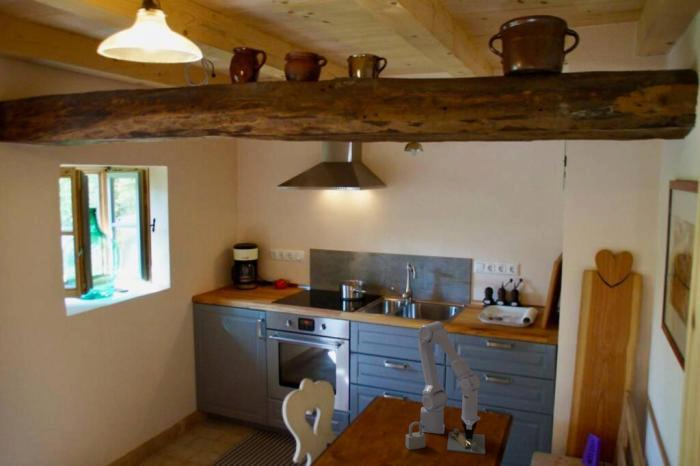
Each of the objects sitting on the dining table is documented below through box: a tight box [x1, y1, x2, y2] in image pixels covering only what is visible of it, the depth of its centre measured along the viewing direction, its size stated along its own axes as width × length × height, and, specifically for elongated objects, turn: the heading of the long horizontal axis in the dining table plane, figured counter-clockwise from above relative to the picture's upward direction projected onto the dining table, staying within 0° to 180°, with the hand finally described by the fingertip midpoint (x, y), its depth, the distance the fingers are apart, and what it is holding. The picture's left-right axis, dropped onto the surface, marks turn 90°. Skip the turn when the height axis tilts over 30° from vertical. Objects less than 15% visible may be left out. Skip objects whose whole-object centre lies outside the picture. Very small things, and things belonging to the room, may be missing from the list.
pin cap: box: [453, 428, 460, 434], centre depth 225 cm, size 2×2×1 cm
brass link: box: [451, 431, 470, 448], centre depth 222 cm, size 12×4×1 cm, turn 16°
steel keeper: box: [466, 439, 476, 450], centre depth 216 cm, size 4×2×2 cm, turn 22°
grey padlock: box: [405, 421, 426, 451], centre depth 218 cm, size 7×4×10 cm, turn 109°
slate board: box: [446, 431, 486, 455], centre depth 221 cm, size 14×16×1 cm
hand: (469, 439), depth 222 cm, fingers closed
